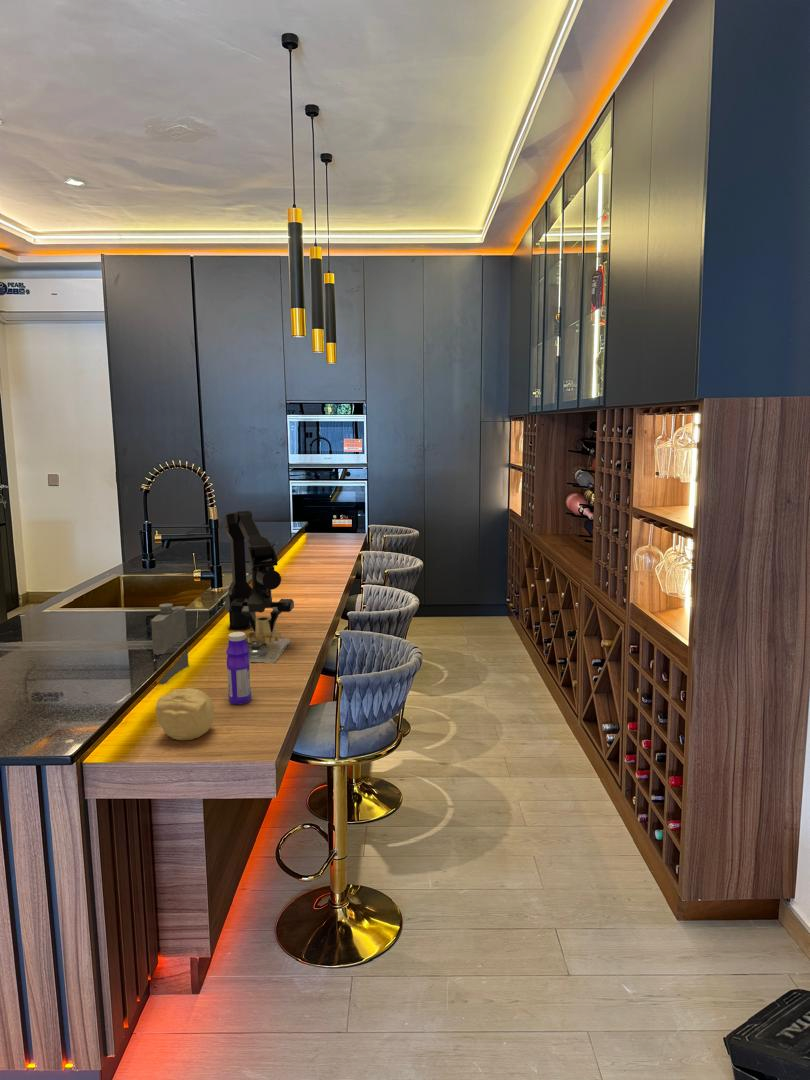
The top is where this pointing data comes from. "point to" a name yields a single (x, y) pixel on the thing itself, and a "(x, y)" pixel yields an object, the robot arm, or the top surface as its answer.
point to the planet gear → (263, 631)
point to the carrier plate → (271, 651)
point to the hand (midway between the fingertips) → (263, 631)
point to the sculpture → (185, 713)
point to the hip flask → (170, 635)
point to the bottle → (238, 669)
